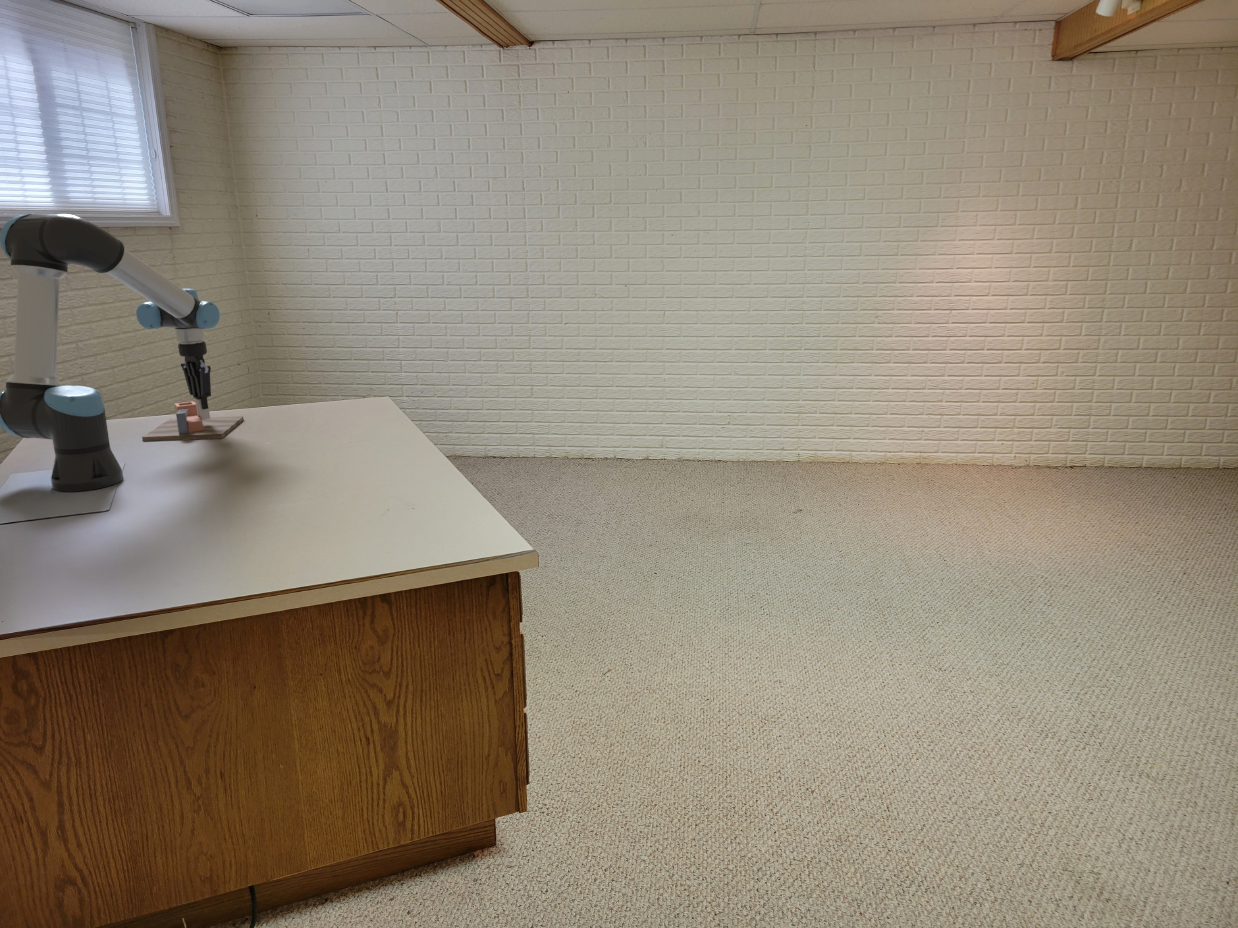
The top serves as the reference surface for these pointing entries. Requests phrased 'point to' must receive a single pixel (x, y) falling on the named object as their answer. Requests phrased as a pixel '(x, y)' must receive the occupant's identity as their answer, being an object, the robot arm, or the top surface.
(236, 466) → the top surface
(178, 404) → the link
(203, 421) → the board
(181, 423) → the bracket
